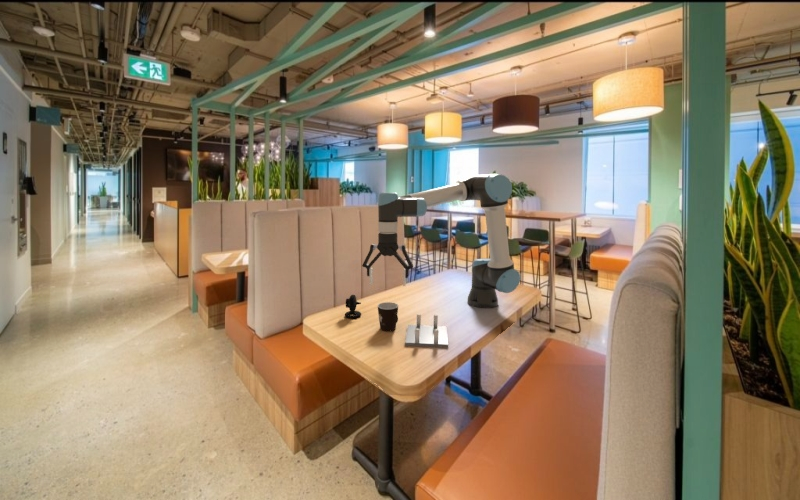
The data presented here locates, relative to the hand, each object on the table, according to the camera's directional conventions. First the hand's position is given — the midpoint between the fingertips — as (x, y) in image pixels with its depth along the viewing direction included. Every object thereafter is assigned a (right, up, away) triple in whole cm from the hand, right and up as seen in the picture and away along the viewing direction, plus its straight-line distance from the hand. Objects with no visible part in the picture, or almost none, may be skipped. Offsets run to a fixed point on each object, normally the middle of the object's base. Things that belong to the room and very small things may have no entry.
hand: (387, 284), depth 137 cm
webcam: (-17, -16, +19) cm, 30 cm away
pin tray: (+16, -20, -3) cm, 26 cm away
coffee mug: (0, -19, +4) cm, 20 cm away
